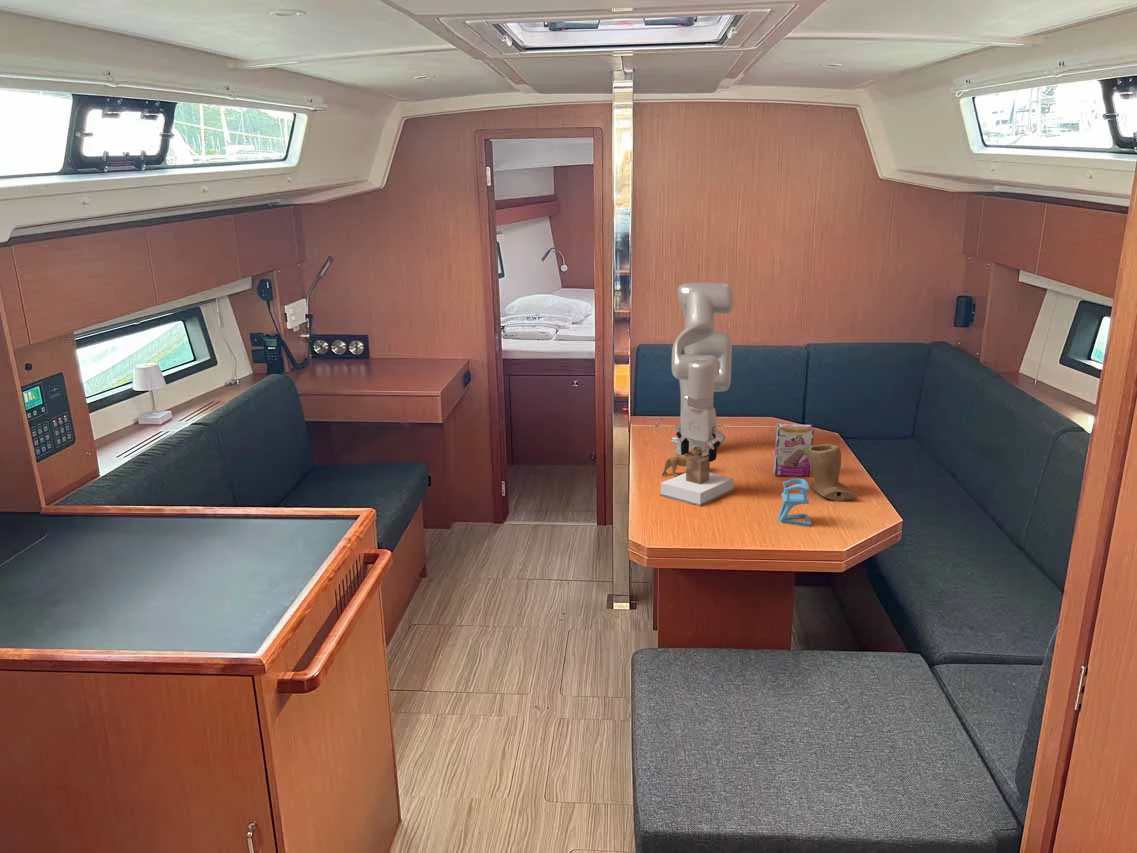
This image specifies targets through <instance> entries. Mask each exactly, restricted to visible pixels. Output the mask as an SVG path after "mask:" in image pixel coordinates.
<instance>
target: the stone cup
mask: <svg viewBox="0 0 1137 853" xmlns="http://www.w3.org/2000/svg"><path fill="white" fill-rule="evenodd" d="M807 455H808V461H809V464H810V467H811V468H810V470H811V472H812V475H813V481H811V482H810V483H809V486H810V488H811V489H812V490H814V491H815V493H817V494H819V495H820V496H822V497H823V498H826V499H828V500H831V501H837V502H841V501H848V500H851V499H854V498H856V497H857V494H856V493H855V492H853V490H851V489H850V488H848V487H847V486H845V485H844V484H843V483H841V482H840V480H839V479H840V471H841V467H842V452H841V448H840V447H839V446H838V445H835V444H831V443H821V444H815V445H812V447H810V448H809V449H808V452H807Z"/></svg>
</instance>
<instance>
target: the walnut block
mask: <svg viewBox="0 0 1137 853" xmlns="http://www.w3.org/2000/svg"><path fill="white" fill-rule="evenodd" d="M710 465H711V462H709V461H708V456H704V457H703V456H698V455H694V456H692V457H689V458H687V461H686V466H685V467H686V468H685V471H686V472H685V473H686V481H689V482H693V483H697V484H702V483H704V482H706V481H708V480H709V473H710Z"/></svg>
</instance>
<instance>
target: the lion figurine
mask: <svg viewBox="0 0 1137 853" xmlns="http://www.w3.org/2000/svg"><path fill="white" fill-rule="evenodd" d="M694 455H698V456H702V449H701V447H700V446H697V445H695V446H692V447H691V450H690V451H689V453H687V454H686V455H682V456H681V455H678V454H671V455H669V456H668V457H667V458H666V461H665V462H664V463H665V464H664V468H663V473H662V474H661V476H662V477H663V476H665V475H668V472H667V470H668V469H669V468H671V469H672V470H671V473H672V475H673V476H674V477H675V476H679V474H678V473H677V472H676V469H677V468H678V466H679V467H686V461H687V458H689V457H692V456H694Z"/></svg>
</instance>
